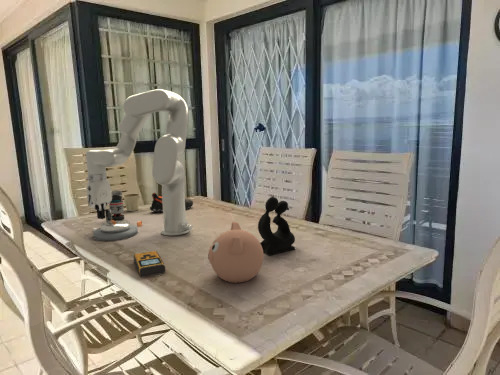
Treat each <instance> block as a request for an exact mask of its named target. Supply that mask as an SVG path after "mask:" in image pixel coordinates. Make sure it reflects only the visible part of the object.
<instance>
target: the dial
mask: <svg viewBox="0 0 500 375" xmlns="http://www.w3.org/2000/svg"><path fill="white" fill-rule="evenodd" d="M112 215H113V214H112V213H111V209H110V208H106V209H105V222H104V223H102V224H100V228H101V232H103V233H118V232H123V231H126V230H128V229H130V225H131V223H130V221H128V220H122V221H114V220H112Z"/></svg>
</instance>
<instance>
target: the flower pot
mask: <svg viewBox="0 0 500 375" xmlns="http://www.w3.org/2000/svg"><path fill="white" fill-rule="evenodd" d="M140 196H141V194H140V193H127V194H126V193H125V194H123V195H122V199H123V201H124V203H125V204H124V205H125V208H126V209H125V210H126V211H127V212H136V211H139V208H140V207H139V204H140Z"/></svg>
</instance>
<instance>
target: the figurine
mask: <svg viewBox="0 0 500 375" xmlns="http://www.w3.org/2000/svg"><path fill="white" fill-rule="evenodd" d="M264 206H265V212H264V213H263V214H262V216H260V218H259V220H258V223H257V230H258V233H259V235H260V237H261V238H262V241H261V242H260V244H261V246H262V249H263V253H265V254H266V255H268V256H271V255H274V254H275V255H276V254H279V253H284V252H288V251H293V250H292V249H294V250H296V249H295V248H296V247H295V246H293V245H294V243H295V241H296V236H295V235H294V233H293V232H291V229H290V228H291V227H290V225H289V223H288V221H287V220H286V219H285V218H283V216H281V215H282V214H283V213H285V212H287V211H290V208H289V202H287V201H286V200H280V201H279V200H278V198H277V197H275V196H271V197H269V198H268V199H267V200H266V202H265V205H264ZM273 211H274V213H275V214H276V215H275V216H274V217H273V219H272V218H271V217H270V213H271V212H273ZM271 220H272V223H274V224H275V225H276V226H277V229H276V230H275V232H273V231H272V228H271Z"/></svg>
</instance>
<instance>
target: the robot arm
mask: <svg viewBox="0 0 500 375" xmlns="http://www.w3.org/2000/svg"><path fill="white" fill-rule="evenodd" d="M122 108H123V111H124V113H125V114H124V116H123V118H122V120H121V121H119V124H118V130H120V132H121V134H120V135H121V137H120V140H119V142H118V143H117V145H116V146H115V148H110V149H109V148H108V149H89V150H87V151H86V152H85V160H86V170H87V177H86V180H87V185H86V186H87V187H86V196H87V197H86V199H87V203H88V204H89V205H88V207H89V208H90V209H91V208H92V209H95V211H96V218H97V219H99V220H104V219H106V214H105V210H106V209H107V206H108V205H109V203H110V201H111V200H112V188H111V183H110V181H109V179H108V178H107V168H112V167H117V166H121V165H123V164H125V163H126V162H127V161H128V159H129V158H130V156H131V155H132V153H133V151H134V149H135V147H136V143H137V140H138V136H139V133H140V132H141V130H142V128H143V127H144V125H145V123H146V122H147V120H148V119H149V117H150V116H151V114H154V113H159V112H165V113H167V114H168V118H167V121H166V124H165V125H166V128H165V135H161V137H159V138H158V139H157V140H156V142H155V144H154V145H155V146H154V152H153V161H152V178H153V180H154V181H155V182H156V183H157V184H158V185H160V186H161V195H162V203H163V212H162V218H163V228H161V229H160V234H161V235H164V236H180V235H185V234H188V233H190V231H192V230H193V227H194V225H193V224H189V221H188V220H187V218H186V217H187V216H186V209H185V197H186V196H185V178H186V175H185V174H186V172H185V167H184V165H183V164H182V162H180V161H179V160H178V158H179V157H180V156H181V155H183V154H184V152H185V150H186V140H187V134H188V133H187V132H188V131H187V130H188V122H189V106H188V104H187V103H186V101H185V100H184V98H183V97H182V96H181V95H179V94H178V93H176V92H173V91H171V90H166V89H161V88H160V89H159V88H156V89H153V90H148V91H145V92H141V93H137V94H133V95H130V96H128V97H127V98H126V99H125V100H124V102H123V105H122Z"/></svg>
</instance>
